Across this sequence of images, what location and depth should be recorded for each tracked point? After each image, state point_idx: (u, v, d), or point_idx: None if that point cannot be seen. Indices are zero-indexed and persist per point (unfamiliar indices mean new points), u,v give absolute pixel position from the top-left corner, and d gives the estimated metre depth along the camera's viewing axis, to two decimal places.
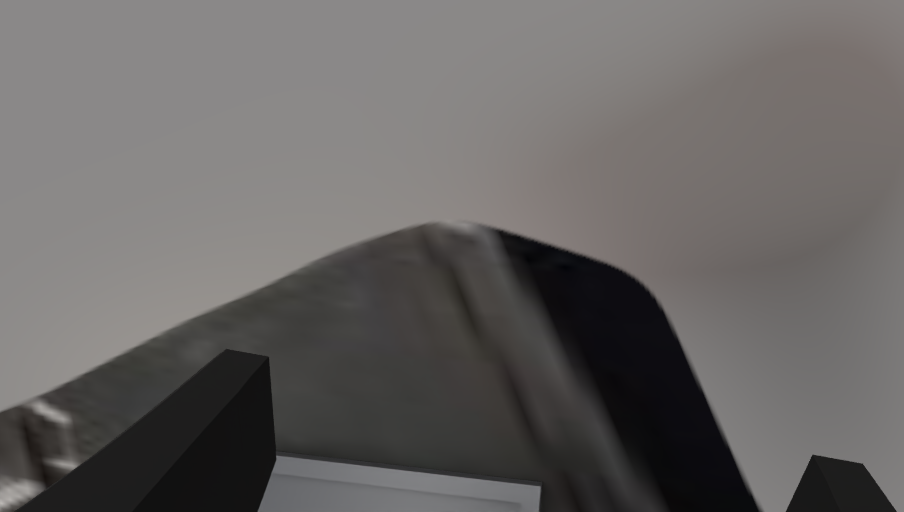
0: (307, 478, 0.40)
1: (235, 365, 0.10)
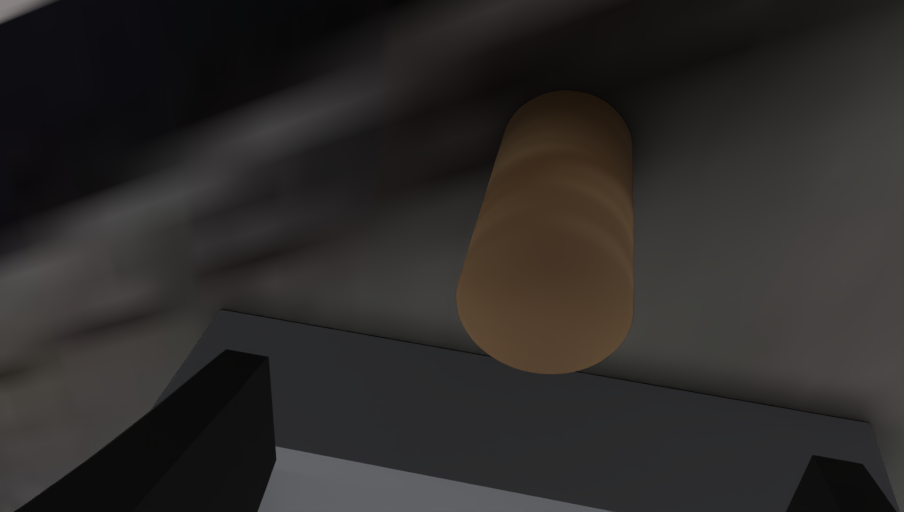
0: None
1: (236, 365, 0.10)
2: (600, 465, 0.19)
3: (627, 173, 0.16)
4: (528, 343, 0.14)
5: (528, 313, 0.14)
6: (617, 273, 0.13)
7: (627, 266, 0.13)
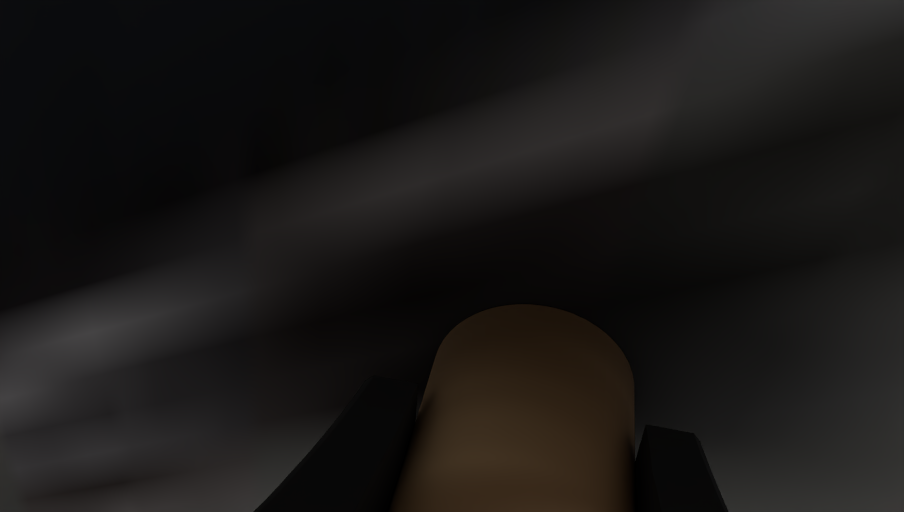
0: None
1: (389, 393, 0.10)
2: None
3: (626, 479, 0.10)
4: None
5: None
6: None
7: None
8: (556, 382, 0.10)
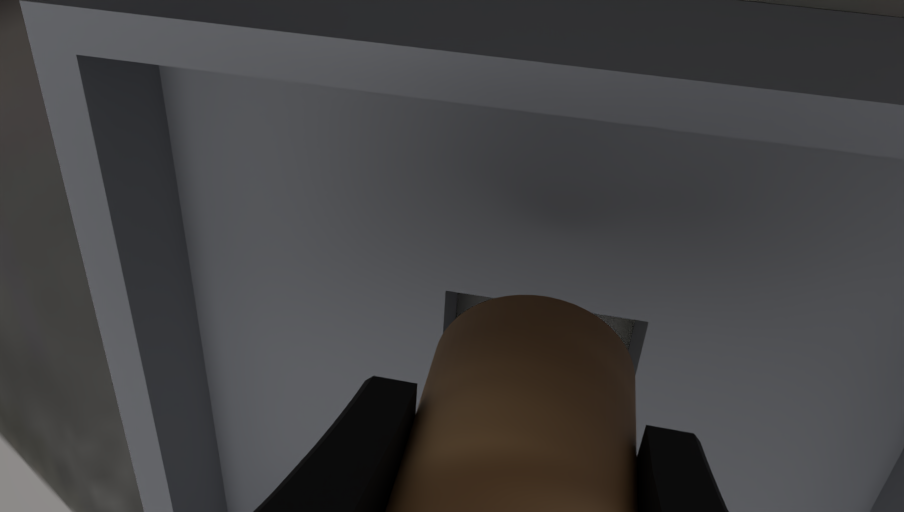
0: (220, 413, 0.21)
1: (389, 393, 0.10)
2: (715, 53, 0.13)
3: (628, 465, 0.10)
4: None
5: None
6: None
7: None
8: (558, 369, 0.10)
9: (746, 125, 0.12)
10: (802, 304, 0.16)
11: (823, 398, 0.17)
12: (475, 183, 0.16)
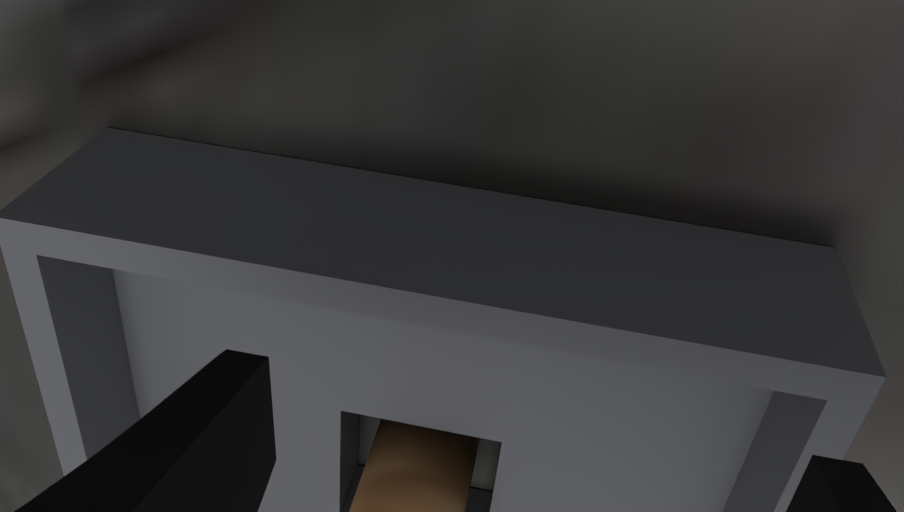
0: None
1: (236, 365, 0.10)
2: (522, 273, 0.17)
3: (462, 473, 0.22)
4: None
5: None
6: None
7: None
8: (434, 430, 0.22)
9: (535, 338, 0.16)
10: (618, 435, 0.20)
11: (642, 504, 0.22)
12: (359, 335, 0.20)
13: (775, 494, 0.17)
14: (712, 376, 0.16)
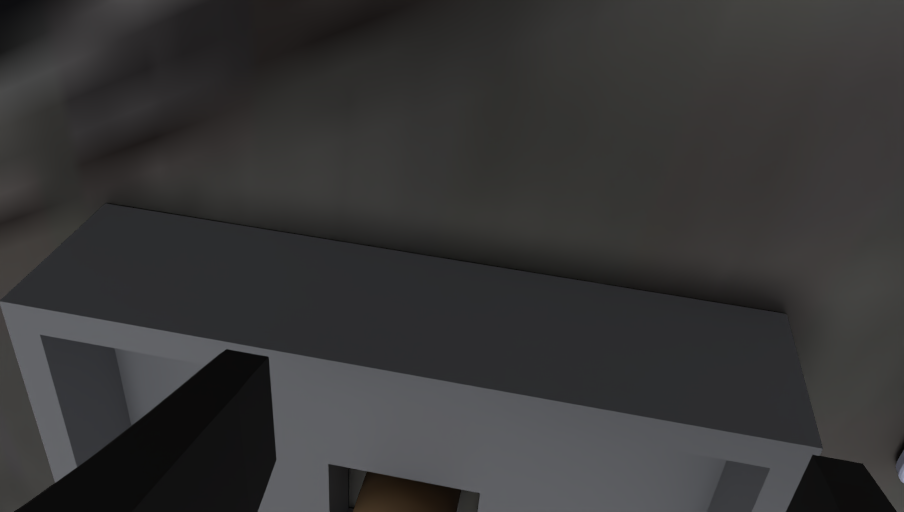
0: None
1: (235, 365, 0.10)
2: (489, 348, 0.18)
3: None
4: None
5: None
6: None
7: None
8: None
9: (499, 411, 0.17)
10: (588, 488, 0.22)
11: None
12: (343, 396, 0.21)
13: None
14: (664, 446, 0.17)
